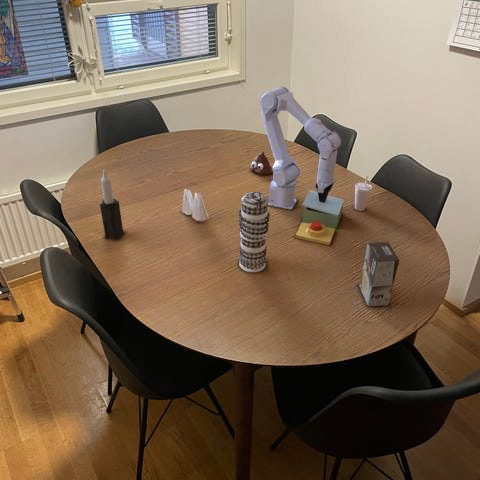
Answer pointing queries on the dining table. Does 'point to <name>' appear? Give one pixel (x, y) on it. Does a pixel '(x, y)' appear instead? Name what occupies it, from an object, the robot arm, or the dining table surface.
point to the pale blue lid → (330, 205)
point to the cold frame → (321, 217)
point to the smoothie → (362, 195)
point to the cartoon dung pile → (261, 165)
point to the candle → (110, 211)
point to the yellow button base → (315, 234)
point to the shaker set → (194, 206)
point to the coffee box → (378, 273)
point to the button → (316, 226)
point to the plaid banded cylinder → (253, 231)
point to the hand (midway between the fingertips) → (322, 201)
